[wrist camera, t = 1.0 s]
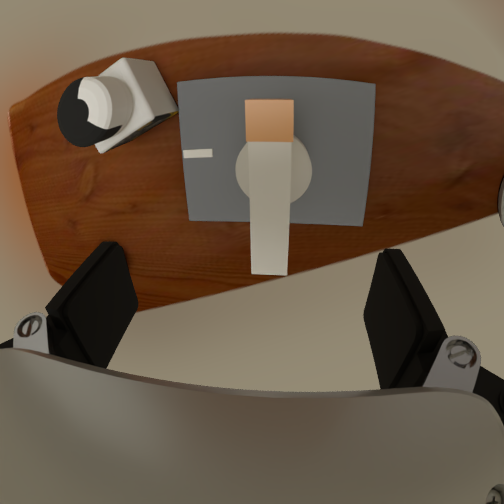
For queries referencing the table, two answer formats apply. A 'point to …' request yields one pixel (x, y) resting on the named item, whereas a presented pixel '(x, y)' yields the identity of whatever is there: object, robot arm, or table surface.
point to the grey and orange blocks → (271, 179)
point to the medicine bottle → (115, 105)
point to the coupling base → (305, 129)
